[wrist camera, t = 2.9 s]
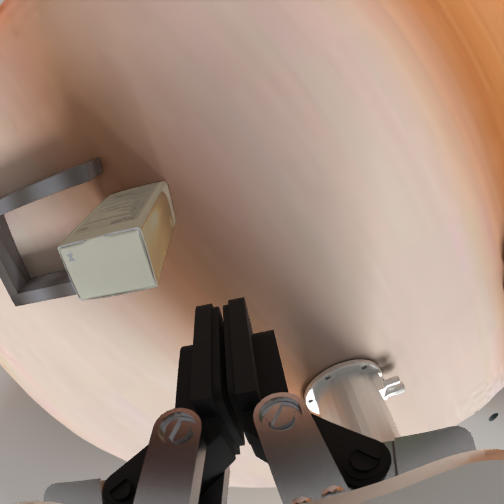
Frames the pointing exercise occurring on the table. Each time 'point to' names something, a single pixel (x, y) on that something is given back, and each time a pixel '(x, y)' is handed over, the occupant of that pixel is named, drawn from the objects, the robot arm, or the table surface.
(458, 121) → the table surface
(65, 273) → the u rest
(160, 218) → the skincare box
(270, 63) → the table surface
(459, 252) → the table surface
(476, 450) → the robot arm
